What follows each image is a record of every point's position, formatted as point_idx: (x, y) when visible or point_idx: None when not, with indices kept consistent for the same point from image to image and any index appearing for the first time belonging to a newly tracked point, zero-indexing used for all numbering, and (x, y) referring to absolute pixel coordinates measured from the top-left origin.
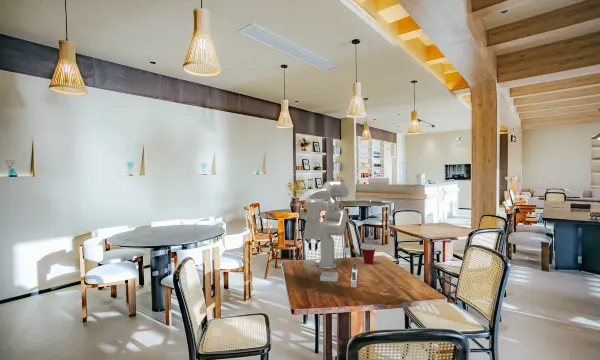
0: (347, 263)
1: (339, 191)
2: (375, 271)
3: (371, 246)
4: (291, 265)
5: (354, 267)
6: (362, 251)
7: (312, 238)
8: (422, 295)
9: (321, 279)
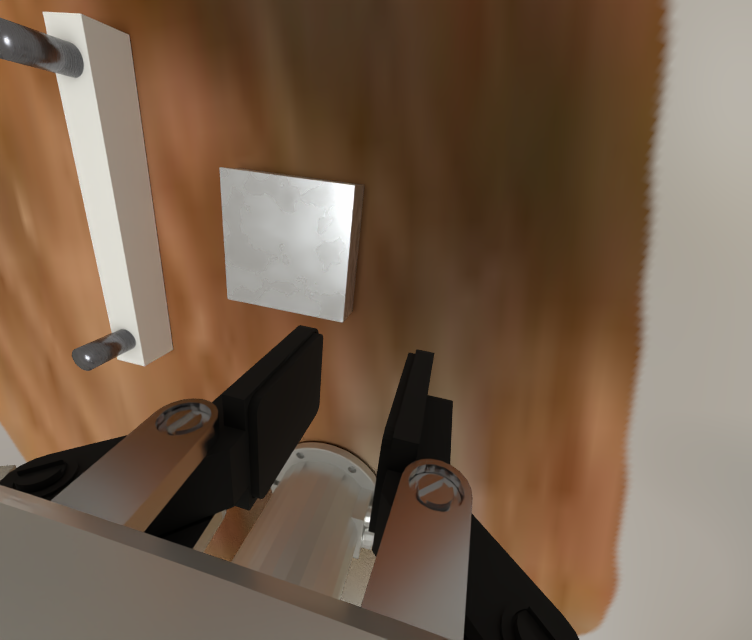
0: (225, 520)
1: None
2: (72, 378)
3: None
4: (578, 547)
5: (111, 335)
6: None
7: (147, 574)
8: None
9: (351, 183)
